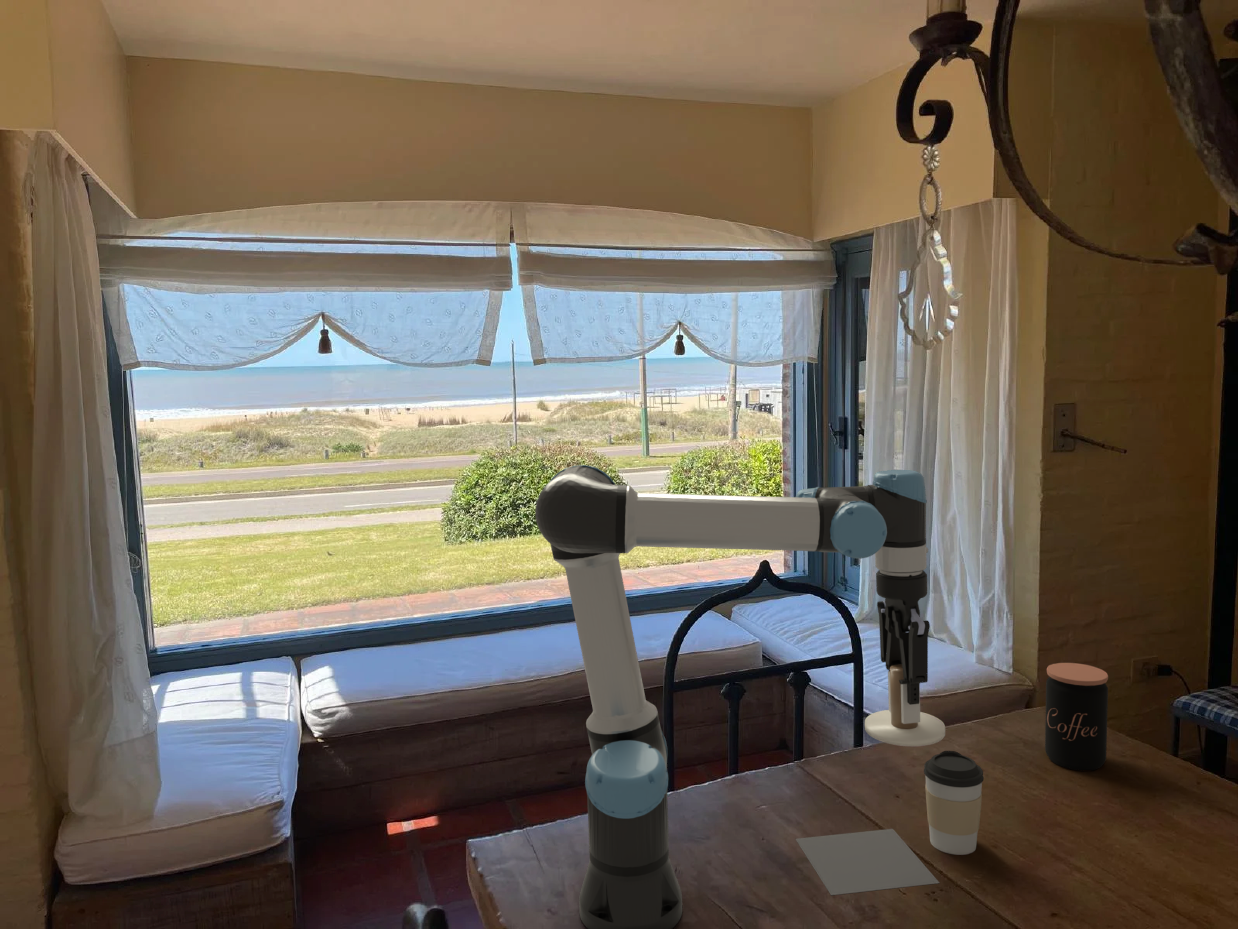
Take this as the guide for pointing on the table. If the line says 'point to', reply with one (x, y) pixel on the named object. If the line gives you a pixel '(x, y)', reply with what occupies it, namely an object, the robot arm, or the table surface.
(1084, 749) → the coffee jar
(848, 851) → the mat
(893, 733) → the lid
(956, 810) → the coffee cup
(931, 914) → the table surface
